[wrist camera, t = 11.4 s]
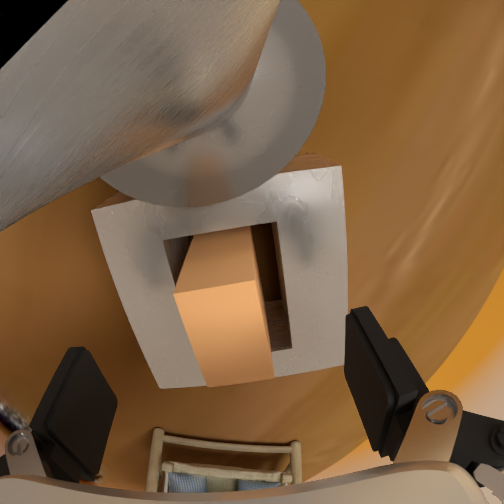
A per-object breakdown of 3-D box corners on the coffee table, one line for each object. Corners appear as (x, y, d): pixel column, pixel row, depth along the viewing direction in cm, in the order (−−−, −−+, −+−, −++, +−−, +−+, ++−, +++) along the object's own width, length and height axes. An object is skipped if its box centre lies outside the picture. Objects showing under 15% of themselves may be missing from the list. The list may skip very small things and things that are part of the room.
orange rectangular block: (216, 296, 21) (207, 387, 13) (198, 223, 19) (173, 293, 11) (262, 288, 21) (274, 378, 13) (248, 214, 19) (254, 279, 11)
